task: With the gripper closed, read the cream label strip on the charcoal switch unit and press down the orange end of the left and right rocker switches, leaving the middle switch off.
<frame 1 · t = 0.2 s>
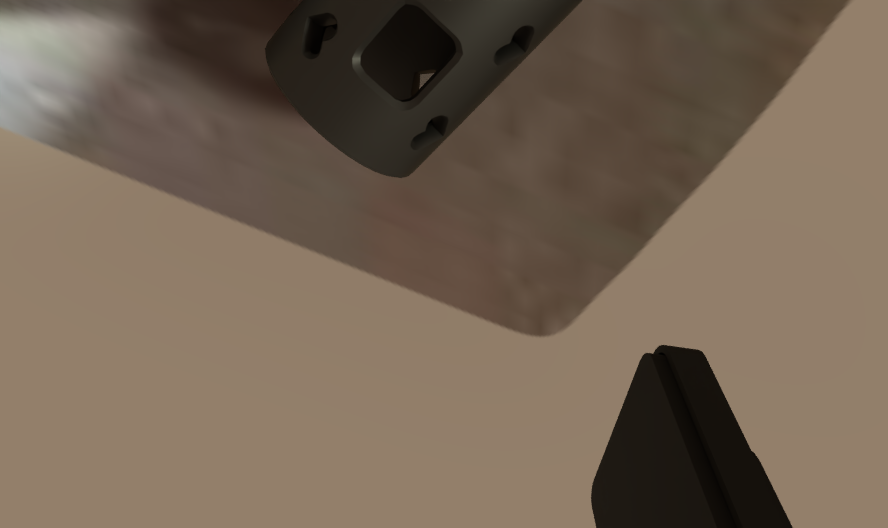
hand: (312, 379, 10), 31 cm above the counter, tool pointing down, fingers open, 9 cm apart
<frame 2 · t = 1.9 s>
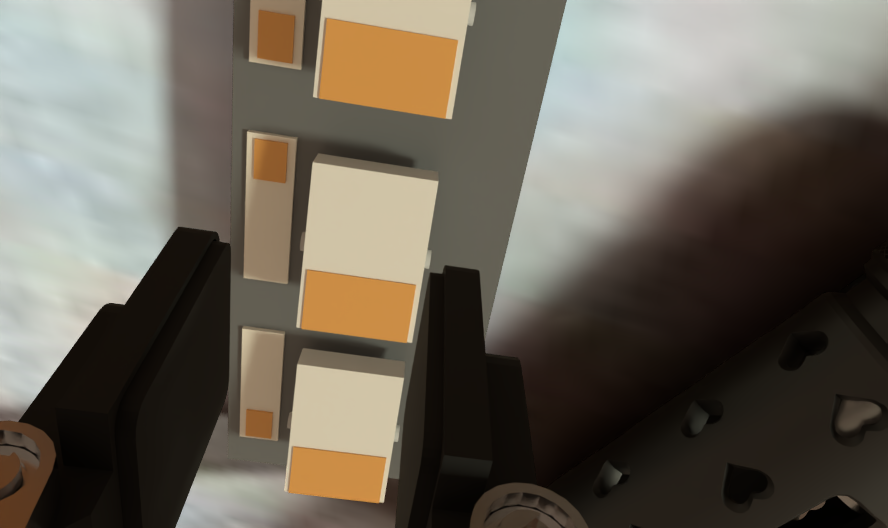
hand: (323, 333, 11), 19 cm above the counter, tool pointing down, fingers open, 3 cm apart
switch unit: (377, 192, 31), on the counter
switch middle: (366, 250, 27), point 5 cm above the counter, hinge at -10.0°
muzzle brake: (735, 369, 37), on the counter
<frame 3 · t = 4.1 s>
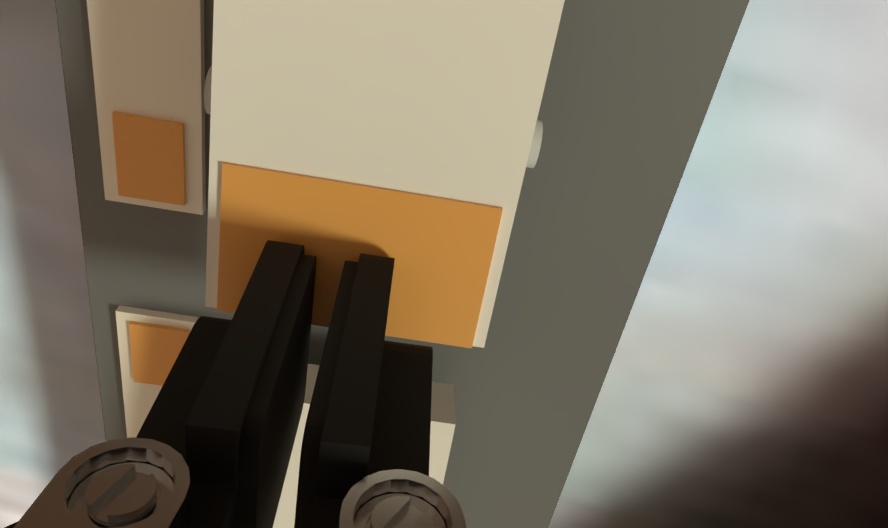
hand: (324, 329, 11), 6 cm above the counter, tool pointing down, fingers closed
switch unit: (356, 362, 20), on the counter
switch middle: (326, 516, 15), point 5 cm above the counter, hinge at -10.0°
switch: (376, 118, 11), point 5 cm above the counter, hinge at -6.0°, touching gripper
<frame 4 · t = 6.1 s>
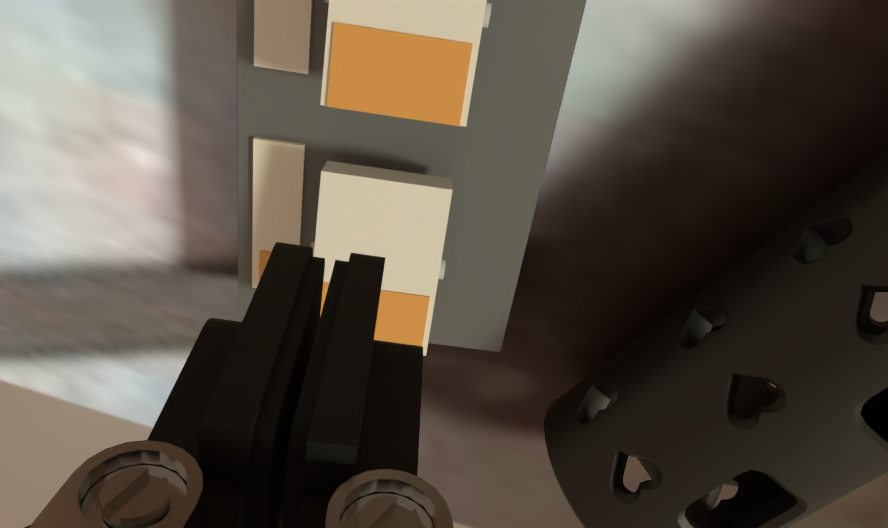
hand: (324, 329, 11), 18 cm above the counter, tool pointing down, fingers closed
switch middle: (408, 2, 21), point 5 cm above the counter, hinge at -10.0°
muzzle brake: (841, 214, 31), on the counter
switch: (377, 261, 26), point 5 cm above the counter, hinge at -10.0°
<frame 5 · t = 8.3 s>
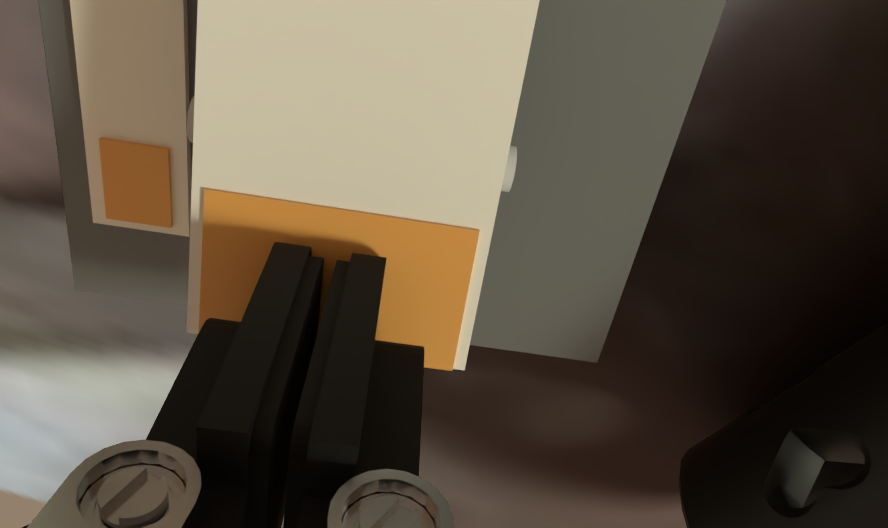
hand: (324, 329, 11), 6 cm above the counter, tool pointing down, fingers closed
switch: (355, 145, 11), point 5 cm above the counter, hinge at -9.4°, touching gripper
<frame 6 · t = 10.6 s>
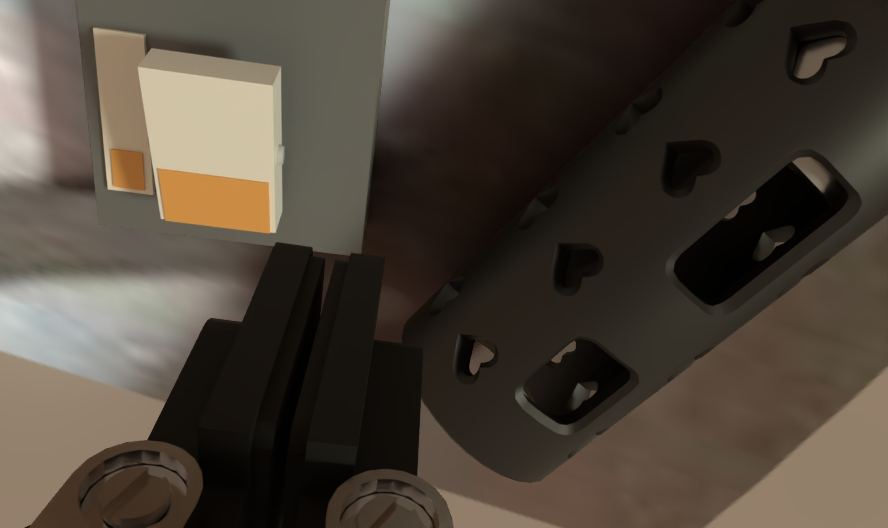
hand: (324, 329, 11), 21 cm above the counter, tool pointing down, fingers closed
muzzle brake: (690, 119, 32), on the counter
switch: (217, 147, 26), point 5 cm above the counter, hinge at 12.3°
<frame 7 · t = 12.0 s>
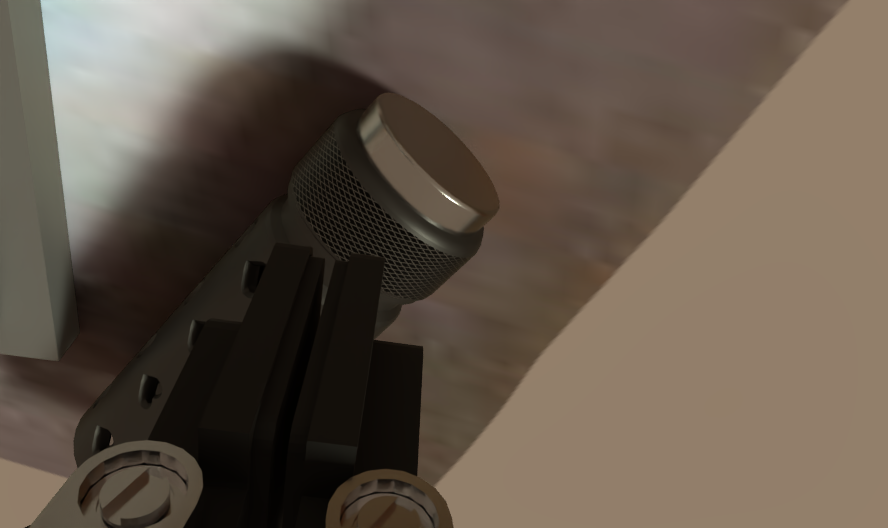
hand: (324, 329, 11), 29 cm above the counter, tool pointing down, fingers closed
muzzle brake: (292, 269, 45), on the counter
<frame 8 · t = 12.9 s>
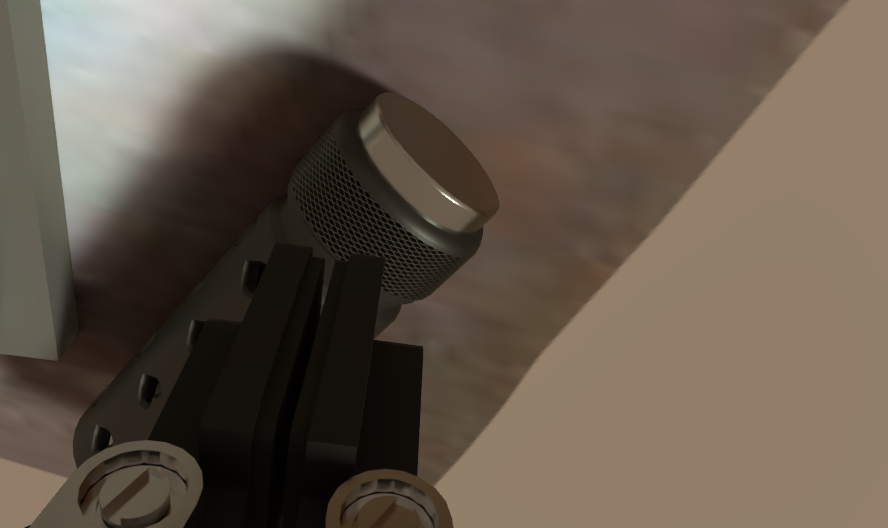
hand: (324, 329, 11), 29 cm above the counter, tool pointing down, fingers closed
muzzle brake: (292, 269, 45), on the counter
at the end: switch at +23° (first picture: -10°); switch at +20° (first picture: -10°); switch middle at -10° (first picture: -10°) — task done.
